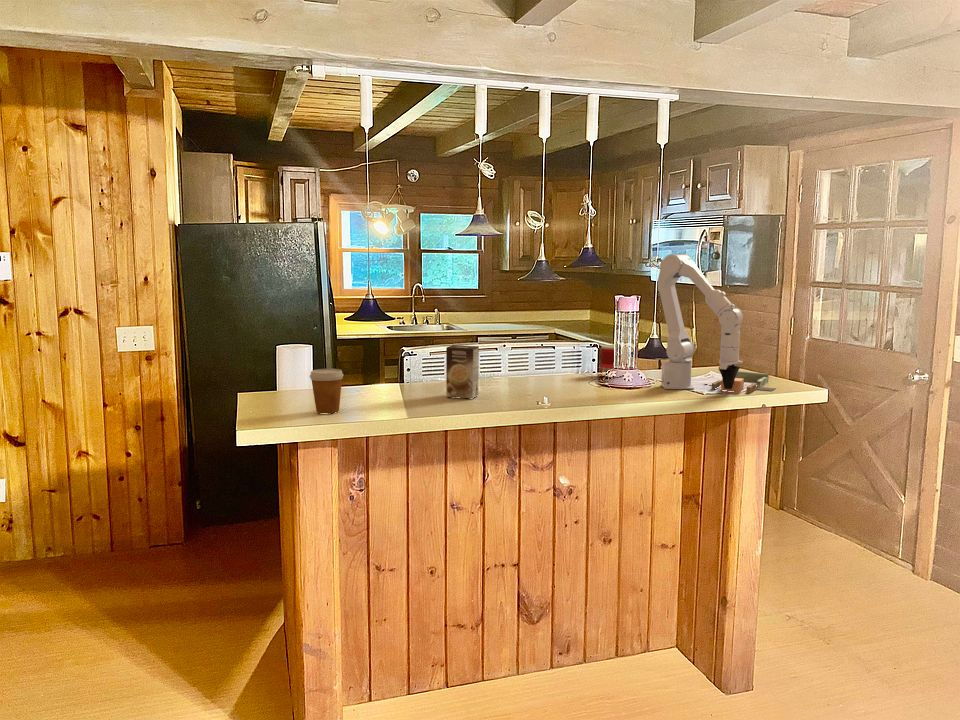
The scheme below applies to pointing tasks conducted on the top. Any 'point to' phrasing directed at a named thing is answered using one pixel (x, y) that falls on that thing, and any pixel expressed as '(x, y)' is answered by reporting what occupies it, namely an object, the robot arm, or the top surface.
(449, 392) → the coffee box
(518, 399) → the top surface
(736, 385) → the block
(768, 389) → the trap pads
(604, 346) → the canned food
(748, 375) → the trap lane
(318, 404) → the disposable coffee cup
